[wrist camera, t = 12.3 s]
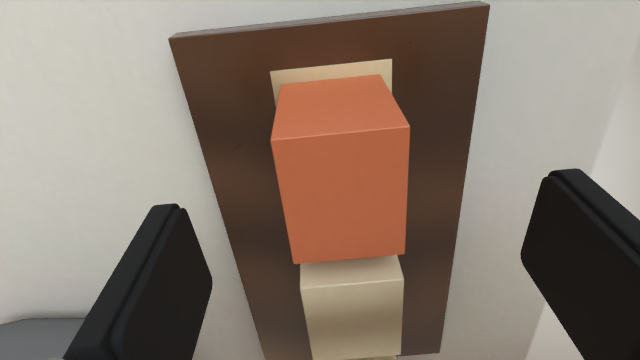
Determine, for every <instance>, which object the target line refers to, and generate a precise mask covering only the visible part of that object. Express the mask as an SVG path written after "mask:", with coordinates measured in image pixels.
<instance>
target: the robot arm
mask: <svg viewBox="0 0 640 360" xmlns="http://www.w3.org/2000/svg"><path fill="white" fill-rule="evenodd" d="M521 261H522V263H523V265H524V267H525V269H526V270H527V272H528V273H529V275H530V276H531V278H532V279H533V281H534V283H535V284H536V286H537V287H538V289H539V290H540V292H541V293H542V295H543V296H544V298H545V299H546V301H547V303H548V304H549V306H550V307H551V309H552V310H553V312H554V313H555V315H556V316H557V318H558V320H559V321H560V323H561V324H562V326H563V327H564V329H565V330H566V332H567V333H568V335H569V337H570V338H571V340H572V341H573V343H574V344H575V346H576V347H577V349H578V350H579V352H580V353H581V355H582V356H583V358H584V360H640V220H639V219H637V218H636V217H635V216H634V215H633V214H632V213H630V212H629V211H628V210H627V209H626V208H625V207H623V206H622V205H621V204H620V203H619V202H618V201H616V200H615V199H614V198H613V197H612V196H610V194H608V193H607V192H606V191H605V190H604V189H603V188H601V187H600V186H599V185H598V184H597V183H596V182H594V181H593V180H592V179H591V178H590V177H589V176H587V175H586V174H585V173H584V172H583V171H581V170H580V169H565V170H554V171H551V172H550V173H549V175H548V177H544V178H543V179H542V182H541V185H540V188H539V192H538V195H537V198H536V202H535V205H534V209H533V212H532V215H531V219H530V222H529V226H528V229H527V232H526V236H525V239H524V242H523V246H522V249H521ZM211 291H212V277H211V274H210V271H209V268H208V266H207V263H206V260H205V258H204V255H203V252H202V250H201V247H200V245H199V242H198V239H197V237H196V234H195V231H194V229H193V226H192V223H191V221H190V218H189V215H188V213H187V211H186V209H184V208H181V209H180V207H179V205H178V204H164V205H155V206H153V207H152V208H151V209H150V211H149V213H148V214H147V216H146V218H145V219H144V221H143V223H142V225H141V226H140V228H139V230H138V231H137V233H136V235H135V236H134V238H133V240H132V241H131V243H130V245H129V246H128V248H127V250H126V251H125V253H124V255H123V256H122V258H121V260H120V262H119V263H118V265H117V267H116V268H115V270H114V272H113V273H112V275H111V277H110V278H109V280H108V282H107V283H106V285H105V287H104V288H103V290H102V292H101V293H100V295H99V297H98V299H97V300H96V302H95V304H94V305H93V307H92V309H91V310H90V312H89V314H88V315H87V317H86V319H85V320H84V322H83V324H82V325H81V327H80V329H79V330H78V332H77V334H76V336H75V337H74V339H73V341H72V342H71V344H70V346H69V348H68V349H67V351H66V353H65V354H64V356H63V358H46V359H43V360H192V358H193V354H194V350H195V347H196V343H197V340H198V336H199V333H200V329H201V326H202V322H203V319H204V315H205V312H206V308H207V305H208V301H209V298H210V294H211Z"/></svg>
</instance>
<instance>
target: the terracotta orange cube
mask: <svg viewBox="0 0 640 360" xmlns="http://www.w3.org/2000/svg"><path fill="white" fill-rule="evenodd" d="M270 142H271V147H272V152H273V158H274V163H275V168H276V174H277V179H278V184H279V190H280V195H281V200H282V206H283V211H284V216H285V222H286V227H287V232H288V238H289V243H290V248H291V254H292V259H293V263H294V264H301V263H312V262H323V261H334V260H346V259H357V258H368V257H379V256H390V255H401V254H405V236H406V213H407V190H408V167H409V144H410V125H409V123H408V122H407V120H406V118H405V116H404V115H403V113H402V111H401V109H400V108H399V106H398V104H397V102H396V101H395V99H394V97H393V96H392V94H391V92H390V90H389V89H388V87H387V85H386V83H385V82H384V80H383V78H382V76H381V75H380V74H376V75H367V76H357V77H347V78H337V79H328V80H318V81H308V82H299V83H289V84H281V87H280V92H279V97H278V103H277V108H276V113H275V118H274V124H273V129H272V134H271V139H270Z"/></svg>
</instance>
